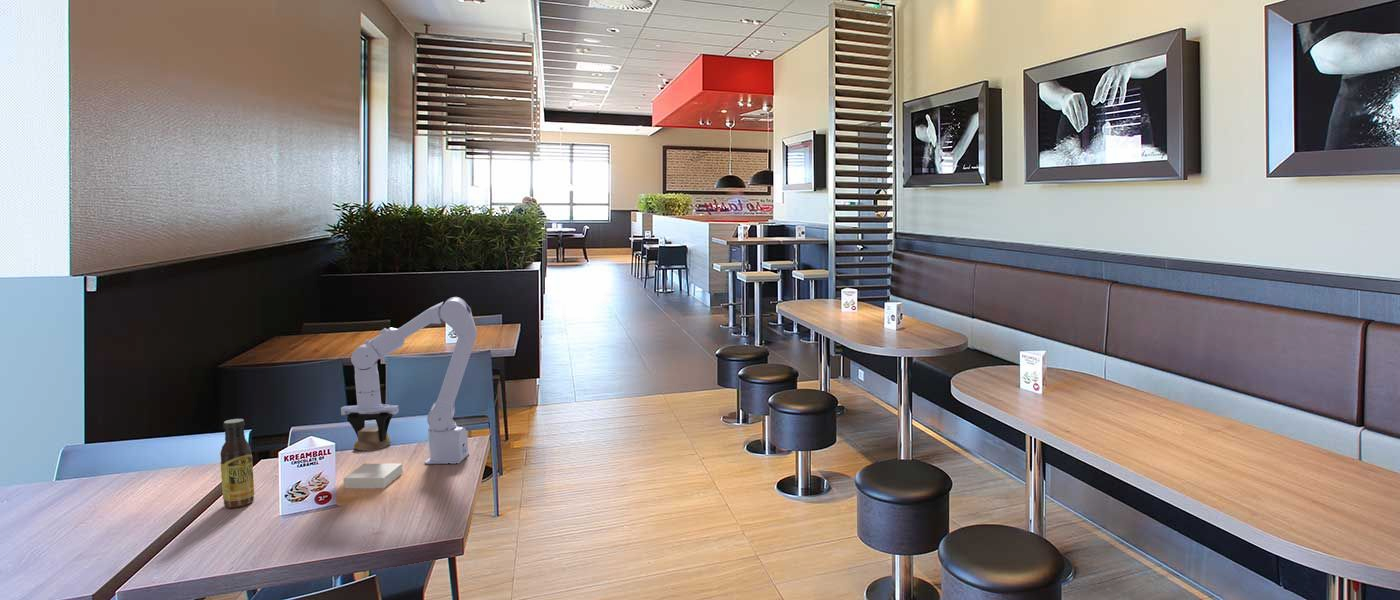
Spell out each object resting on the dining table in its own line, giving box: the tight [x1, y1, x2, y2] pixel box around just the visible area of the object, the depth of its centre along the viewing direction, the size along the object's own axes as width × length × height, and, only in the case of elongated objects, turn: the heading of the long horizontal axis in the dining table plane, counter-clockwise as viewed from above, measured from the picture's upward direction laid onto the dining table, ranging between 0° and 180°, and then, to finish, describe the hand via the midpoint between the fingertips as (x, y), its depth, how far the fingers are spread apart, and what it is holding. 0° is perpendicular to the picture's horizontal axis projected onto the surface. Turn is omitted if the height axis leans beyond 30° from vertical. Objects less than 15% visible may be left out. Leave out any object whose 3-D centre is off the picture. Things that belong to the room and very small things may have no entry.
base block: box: [343, 463, 404, 489], centre depth 180 cm, size 10×10×3 cm
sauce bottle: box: [220, 418, 255, 509], centre depth 166 cm, size 6×6×20 cm
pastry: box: [353, 432, 391, 451], centre depth 207 cm, size 9×7×4 cm
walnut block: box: [357, 425, 387, 451], centre depth 190 cm, size 5×5×5 cm
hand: (372, 440), depth 190 cm, fingers closed on walnut block, 5 cm apart
